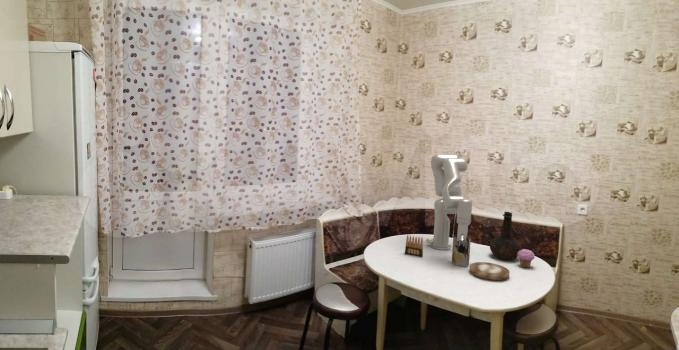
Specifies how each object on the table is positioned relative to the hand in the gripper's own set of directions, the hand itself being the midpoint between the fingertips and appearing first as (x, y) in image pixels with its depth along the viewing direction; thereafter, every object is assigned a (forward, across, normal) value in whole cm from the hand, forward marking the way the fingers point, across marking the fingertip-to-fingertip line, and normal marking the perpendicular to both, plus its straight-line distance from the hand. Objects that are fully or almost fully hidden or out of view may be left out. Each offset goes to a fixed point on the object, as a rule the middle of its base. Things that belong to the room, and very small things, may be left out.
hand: (461, 250), depth 227 cm
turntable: (+8, +10, +15) cm, 20 cm away
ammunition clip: (+9, -4, -27) cm, 29 cm away
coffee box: (+8, 0, 0) cm, 8 cm away
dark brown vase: (+9, -23, +25) cm, 35 cm away
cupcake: (+8, -11, +35) cm, 38 cm away
